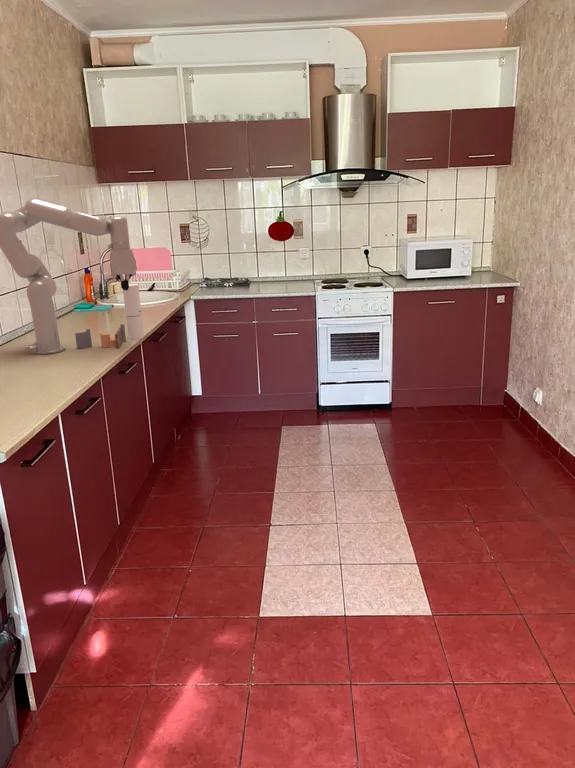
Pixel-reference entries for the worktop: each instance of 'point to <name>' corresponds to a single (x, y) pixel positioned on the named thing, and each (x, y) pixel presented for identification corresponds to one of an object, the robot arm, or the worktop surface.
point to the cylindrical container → (133, 312)
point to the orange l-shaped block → (107, 340)
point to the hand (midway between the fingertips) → (125, 289)
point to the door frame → (85, 338)
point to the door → (118, 338)
